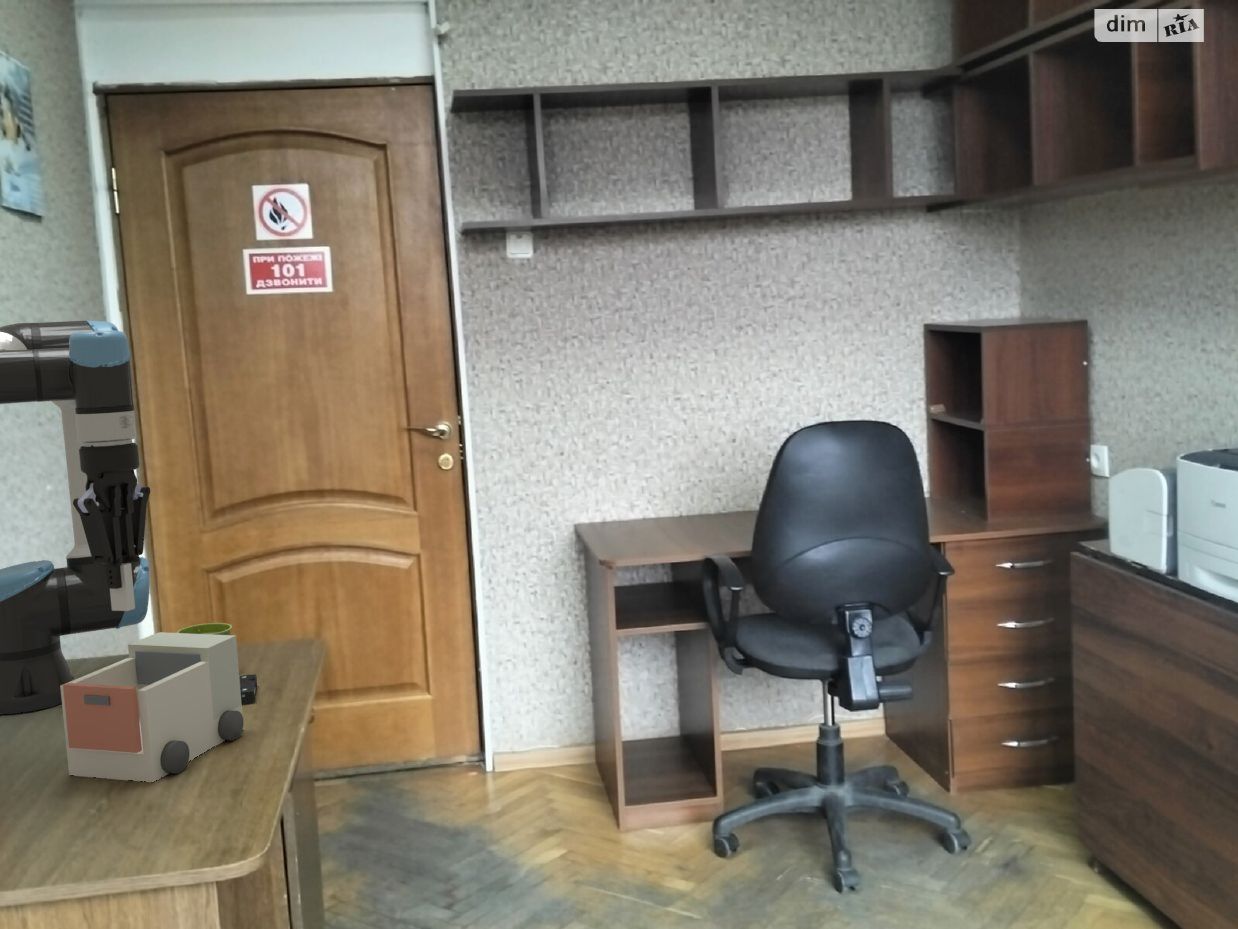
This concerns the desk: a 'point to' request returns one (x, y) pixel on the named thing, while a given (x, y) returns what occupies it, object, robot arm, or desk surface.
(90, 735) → the panel
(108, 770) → the truck
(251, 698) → the disk drive
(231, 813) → the desk surface
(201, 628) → the plant pot
